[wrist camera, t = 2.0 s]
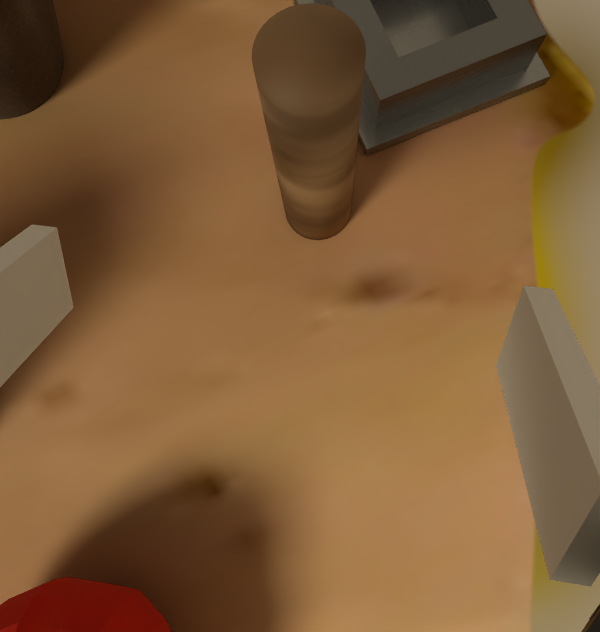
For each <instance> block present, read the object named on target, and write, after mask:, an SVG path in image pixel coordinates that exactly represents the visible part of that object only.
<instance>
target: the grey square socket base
mask: <svg viewBox="0 0 600 632" xmlns="http://www.w3.org/2000/svg"><path fill="white" fill-rule="evenodd" d="M294 3H295V5H300V4H308V3H314V4H323V5H327V6H331V7H333V8H336V9H338V10H340V11H342V12H343V13H345V14H346V15H348V16H349V17H350V18H351V19H352V20H353V21H354V22H355V23H356V24H357V26H358V27H359V29H360V31H361V32H362V35H363V37H364V41H365V45H366V60H365V70H364V81H363V91H362V102H361V113H360V123H359V134H358V140H359V142H360V144H361V146H362V148H363V150H364V153H365V155H366V156H367V155H370V154H372V153H375V152H377V151H380V150H382V149H385V148H387V147H390V146H392V145H395V144H397V143H400V142H402V141H405V140H407V139H410V138H412V137H415V136H417V135H420V134H422V133H425V132H427V131H430V130H432V129H435V128H437V127H440V126H442V125H445V124H447V123H450V122H452V121H455V120H457V119H460V118H462V117H464V116H467V115H469V114H472V113H474V112H477V111H479V110H482V109H484V108H487V107H489V106H492V105H494V104H497V103H499V102H502V101H504V100H507V99H509V98H512V97H514V96H517V95H519V94H522V93H524V92H527V91H529V90H532V89H534V88H537V87H539V86H542V85H544V84H546V82H547V80H548V79H549V77H550V75H549V73H548V71H547V69H546V68H545V66H544V64H543V62H542V60H541V59H540V57H539V55H538V53H537V51H538V49H539V47H540V45H541V44H542V42H543V40H544V38H545V36H546V35H547V33H546V31H545V29H544V27H543V26H542V24H541V22H540V21H539V19H538V17H537V15H536V14H535V12H534V10H533V8H532V7H531V5H530V3H529V2H528V0H294Z"/></svg>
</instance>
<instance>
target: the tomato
mask: <svg viewBox="0 0 600 632" xmlns="http://www.w3.org/2000/svg"><path fill="white" fill-rule="evenodd" d="M0 632H171V630H170V628H169V626H168V624H167V622H166V619H165V618H164V617H163V616H162V615H161V614H160V612H159V611H158V610H157V609H156V608H155V607H154V606H153V605H152V604H151V602H150V601H149V600H148V599H147V598H146V597H145V596H144V595H143V593H142V592H141V591H140V590H139V589H133V588H128V587H123V586H118V585H113V584H108V583H103V582H97V581H91V580H84V579H78V578H72V577H64V578H60V579H55V580H52V581H49V582H47V583H45V584H42V585H40V586H38V587H35V588H33V589H31V590H28V591H26V592H24V593H22V594H19V595H17V596H15V597H12V598H10V599H8V600H7V601H5V602H4V603H3V604H1V605H0Z"/></svg>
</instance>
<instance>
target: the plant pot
mask: <svg viewBox="0 0 600 632" xmlns="http://www.w3.org/2000/svg"><path fill="white" fill-rule="evenodd" d="M62 69H63V54H62V47H61V41H60V35H59V29H58V24H57V19H56V14H55V10H54V5H53V1H52V0H0V119H7V118H13V117H18V116H21V115H24V114H26V113H28V112H30V111H32V110H34V109H36V108H37V107H38V106H40V105H41V104H42V103H43V102H45V101H46V100H47V99H48V98H49V96H50V95H51V94H52V93H53V91H54V90H55V88H56V86H57V84H58V82H59V80H60V77H61V74H62Z"/></svg>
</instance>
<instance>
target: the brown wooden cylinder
mask: <svg viewBox="0 0 600 632" xmlns="http://www.w3.org/2000/svg"><path fill="white" fill-rule="evenodd" d="M365 60H366V45H365V41H364V37H363V35H362V32H361V31H360V29H359V27H358V26H357V24H356V23H355V22H354V21H353V20H352V19H351V18H350V17H349V16H348V15H346V14H345V13H343V12H342V11H340V10H338V9H336V8H333V7H331V6H327V5H323V4H314V3H308V4H300V5H295V6H292V7H289V8H286V9H284V10H282V11H280V12H278V13H277V14H275V15H274V16H273V17H271V18H270V19H269V20H268V21H267V22H266V23H265V24H264V25H263V26H262V28H261V29H260V31H259V32H258V34H257V36H256V38H255V41H254V44H253V49H252V63H253V68H254V73H255V77H256V82H257V86H258V91H259V95H260V100H261V104H262V109H263V114H264V118H265V123H266V127H267V132H268V136H269V141H270V145H271V150H272V154H273V159H274V163H275V168H276V172H277V177H278V181H279V186H280V191H281V195H282V200H283V204H284V209H285V213H286V217H287V220H288V222H289V224H290V226H291V227H292V229H293V230H294V231H295V232H297V233H298V234H299V235H301V236H303V237H305V238H308V239H313V240H323V239H328V238H331V237H333V236H335V235H336V234H338V233H339V232H340V231H342V230H343V228H344V227H345V226H346V225H347V223H348V221H349V218H350V215H351V208H352V197H353V187H354V176H355V166H356V155H357V144H358V134H359V123H360V113H361V102H362V91H363V81H364V70H365Z"/></svg>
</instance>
